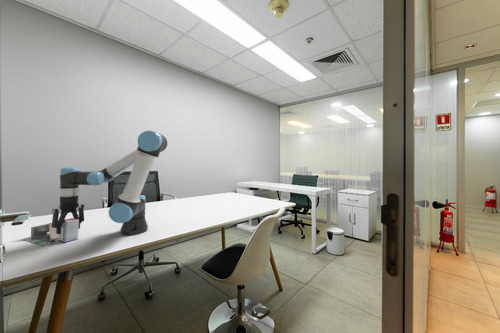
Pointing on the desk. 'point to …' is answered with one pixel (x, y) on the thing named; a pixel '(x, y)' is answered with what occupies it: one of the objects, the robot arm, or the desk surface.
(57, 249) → the desk surface
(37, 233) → the gauge base
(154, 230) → the desk surface
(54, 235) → the plunger
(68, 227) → the supplement box
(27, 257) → the desk surface
